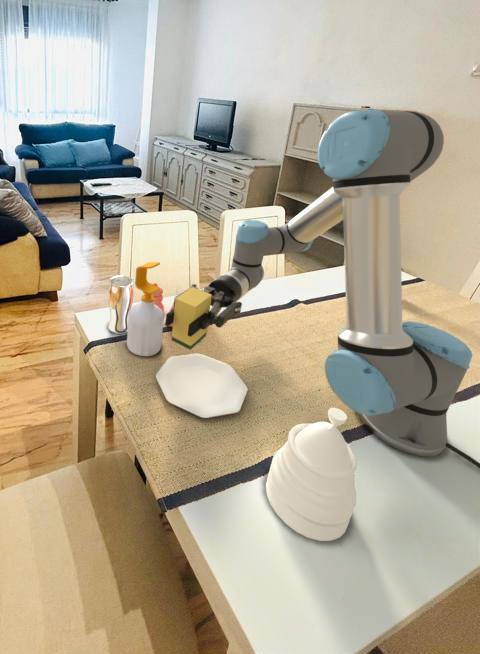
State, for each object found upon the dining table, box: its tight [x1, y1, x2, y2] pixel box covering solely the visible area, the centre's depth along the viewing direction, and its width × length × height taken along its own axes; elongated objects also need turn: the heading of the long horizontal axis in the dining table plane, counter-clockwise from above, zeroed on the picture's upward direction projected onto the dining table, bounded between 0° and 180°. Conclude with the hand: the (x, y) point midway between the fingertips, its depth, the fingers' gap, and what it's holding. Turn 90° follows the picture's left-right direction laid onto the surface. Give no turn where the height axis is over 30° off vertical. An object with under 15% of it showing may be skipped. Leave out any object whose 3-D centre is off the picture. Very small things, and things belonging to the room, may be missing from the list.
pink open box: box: [151, 283, 174, 328], centre depth 114 cm, size 18×10×10 cm, turn 68°
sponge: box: [171, 287, 212, 351], centre depth 86 cm, size 5×7×11 cm
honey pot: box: [265, 407, 358, 542], centre depth 62 cm, size 13×13×18 cm
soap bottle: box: [126, 261, 165, 357], centre depth 98 cm, size 9×9×25 cm
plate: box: [155, 352, 249, 420], centre depth 89 cm, size 20×20×2 cm
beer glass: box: [107, 275, 135, 335], centre depth 107 cm, size 7×7×15 cm
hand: (178, 325), depth 82 cm, fingers closed on sponge, 5 cm apart
